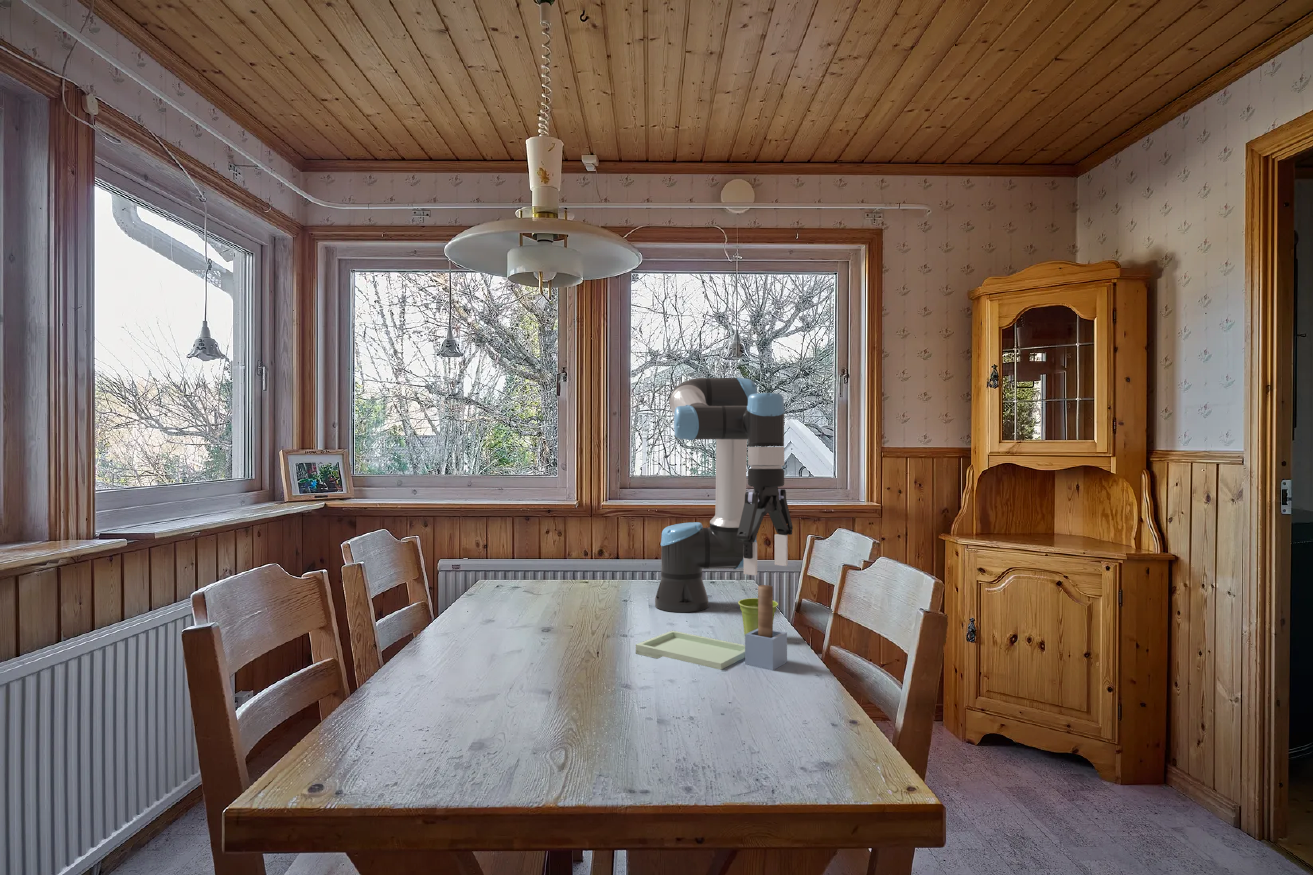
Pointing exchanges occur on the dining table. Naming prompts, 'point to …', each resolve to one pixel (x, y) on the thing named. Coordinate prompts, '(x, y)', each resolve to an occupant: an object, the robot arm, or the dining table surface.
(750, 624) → the plant pot
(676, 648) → the tray
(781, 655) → the open box
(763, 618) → the dowel
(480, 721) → the dining table surface
